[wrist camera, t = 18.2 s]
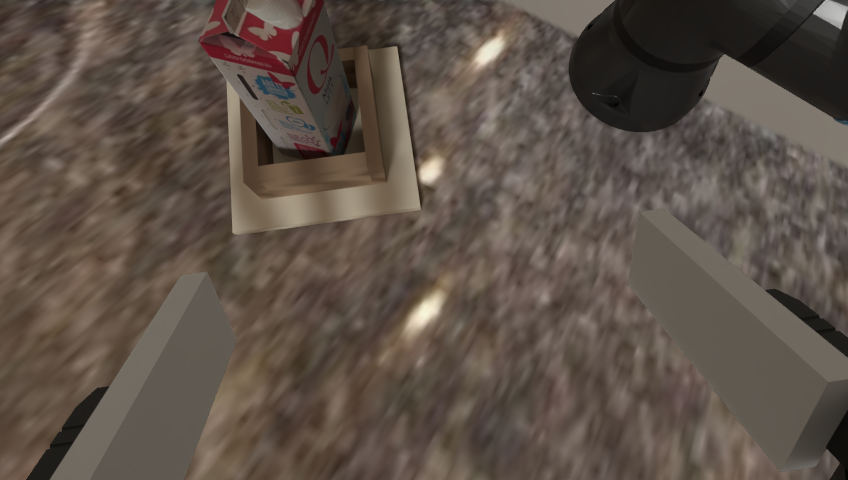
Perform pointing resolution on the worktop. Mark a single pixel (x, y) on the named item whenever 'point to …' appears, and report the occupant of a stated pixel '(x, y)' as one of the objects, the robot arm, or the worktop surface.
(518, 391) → the worktop surface
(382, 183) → the birch collar board
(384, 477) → the worktop surface
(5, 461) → the worktop surface
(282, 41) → the juice carton
